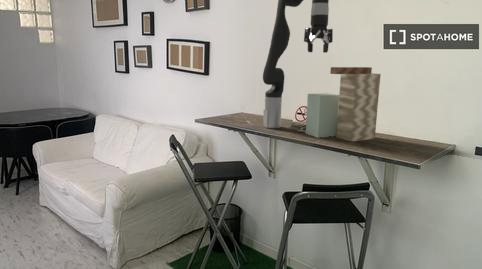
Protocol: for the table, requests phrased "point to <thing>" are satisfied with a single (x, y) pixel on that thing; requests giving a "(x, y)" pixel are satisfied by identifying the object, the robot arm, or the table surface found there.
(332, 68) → the bar
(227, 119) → the table surface
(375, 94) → the tall stand
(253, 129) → the table surface
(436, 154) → the table surface
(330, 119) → the short pedestal
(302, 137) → the table surface
